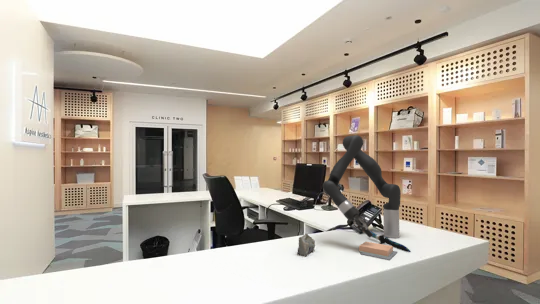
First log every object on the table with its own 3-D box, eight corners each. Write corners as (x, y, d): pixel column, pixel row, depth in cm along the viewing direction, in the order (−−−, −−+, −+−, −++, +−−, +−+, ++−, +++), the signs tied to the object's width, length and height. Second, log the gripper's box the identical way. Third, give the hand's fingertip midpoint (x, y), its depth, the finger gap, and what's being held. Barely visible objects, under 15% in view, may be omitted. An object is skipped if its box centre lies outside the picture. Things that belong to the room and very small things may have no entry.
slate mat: (370, 247, 150) (370, 246, 150) (397, 252, 141) (397, 251, 141) (360, 254, 138) (360, 253, 138) (389, 260, 129) (389, 259, 129)
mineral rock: (312, 248, 148) (312, 229, 148) (324, 254, 138) (324, 234, 138) (291, 251, 143) (291, 231, 143) (301, 257, 133) (301, 236, 133)
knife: (365, 236, 168) (366, 229, 168) (369, 235, 169) (370, 228, 169) (406, 257, 140) (407, 248, 140) (411, 256, 141) (411, 248, 141)
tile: (365, 241, 149) (393, 246, 140) (365, 247, 149) (393, 252, 140) (359, 245, 141) (387, 251, 133) (359, 251, 141) (387, 257, 132)
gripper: (348, 207, 144) (372, 234, 136) (357, 204, 154) (380, 229, 146) (339, 216, 147) (361, 243, 139) (348, 212, 157) (370, 237, 149)
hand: (371, 236), depth 142 cm, fingers closed
